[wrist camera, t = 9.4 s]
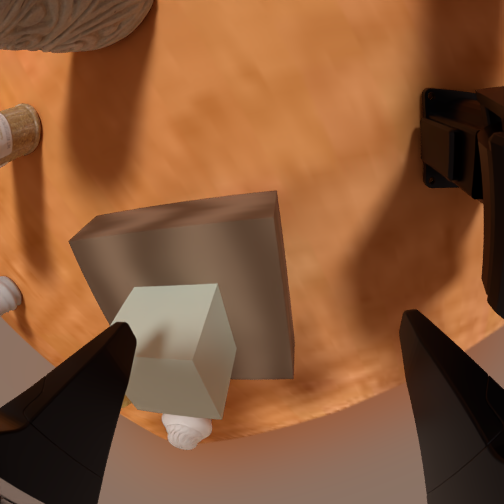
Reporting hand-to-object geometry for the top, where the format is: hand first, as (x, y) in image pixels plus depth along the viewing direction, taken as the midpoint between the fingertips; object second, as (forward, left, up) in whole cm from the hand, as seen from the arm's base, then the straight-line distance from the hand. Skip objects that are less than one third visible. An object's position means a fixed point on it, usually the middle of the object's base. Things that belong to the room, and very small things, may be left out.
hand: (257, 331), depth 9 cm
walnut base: (+7, +7, -12) cm, 16 cm away
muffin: (+13, +25, -12) cm, 31 cm away
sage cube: (+7, +7, -8) cm, 13 cm away
